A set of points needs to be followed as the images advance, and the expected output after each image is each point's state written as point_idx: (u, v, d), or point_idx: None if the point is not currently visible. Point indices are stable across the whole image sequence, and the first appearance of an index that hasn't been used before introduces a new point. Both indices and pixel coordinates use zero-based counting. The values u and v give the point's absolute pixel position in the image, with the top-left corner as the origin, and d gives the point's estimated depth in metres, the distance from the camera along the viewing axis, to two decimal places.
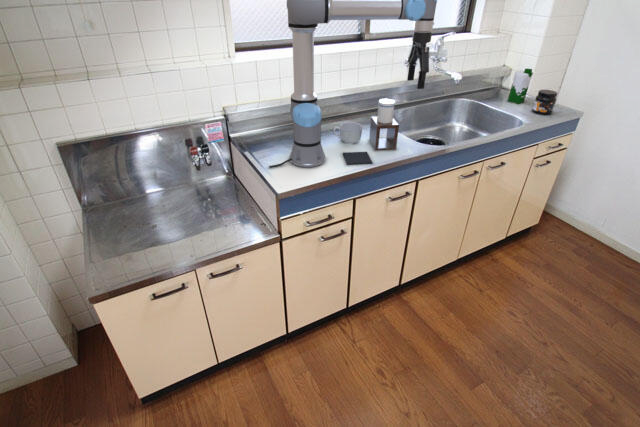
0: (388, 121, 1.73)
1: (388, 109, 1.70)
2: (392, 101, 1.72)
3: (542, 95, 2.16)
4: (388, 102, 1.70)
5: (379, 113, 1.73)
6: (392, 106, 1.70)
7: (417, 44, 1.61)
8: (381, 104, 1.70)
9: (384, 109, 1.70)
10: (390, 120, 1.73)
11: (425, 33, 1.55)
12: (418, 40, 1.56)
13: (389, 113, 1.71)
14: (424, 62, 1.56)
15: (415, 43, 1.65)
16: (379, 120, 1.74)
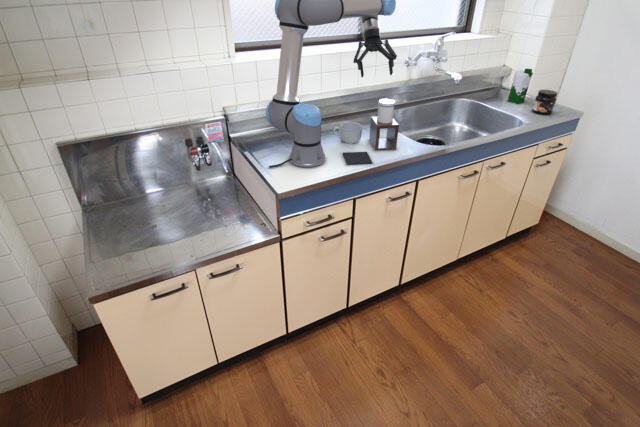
0: (388, 121, 1.73)
1: (388, 109, 1.70)
2: (392, 101, 1.72)
3: (542, 95, 2.16)
4: (388, 102, 1.70)
5: (379, 113, 1.73)
6: (392, 106, 1.70)
7: (371, 41, 1.79)
8: (381, 104, 1.70)
9: (384, 109, 1.70)
10: (390, 120, 1.73)
11: None
12: (379, 34, 1.78)
13: (389, 113, 1.71)
14: None
15: (362, 43, 1.80)
16: (379, 120, 1.74)
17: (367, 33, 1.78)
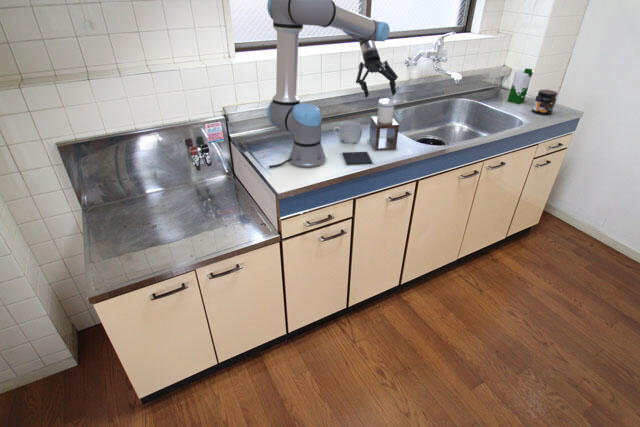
0: (388, 121, 1.73)
1: (388, 109, 1.70)
2: (392, 101, 1.72)
3: (542, 95, 2.16)
4: (388, 102, 1.70)
5: (379, 113, 1.73)
6: (392, 106, 1.70)
7: (371, 62, 1.78)
8: (381, 104, 1.70)
9: (384, 109, 1.70)
10: (390, 120, 1.73)
11: None
12: None
13: (389, 113, 1.71)
14: None
15: (362, 64, 1.77)
16: (379, 120, 1.74)
17: (367, 54, 1.76)
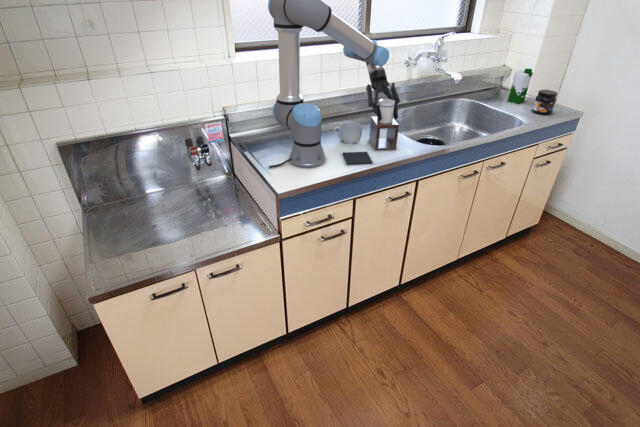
0: (388, 121, 1.73)
1: (388, 109, 1.70)
2: (392, 100, 1.72)
3: (542, 95, 2.16)
4: (388, 102, 1.70)
5: None
6: (392, 106, 1.70)
7: (378, 82, 1.74)
8: (381, 104, 1.70)
9: (383, 109, 1.70)
10: (390, 120, 1.73)
11: None
12: None
13: (389, 113, 1.71)
14: None
15: None
16: None
17: (374, 74, 1.73)
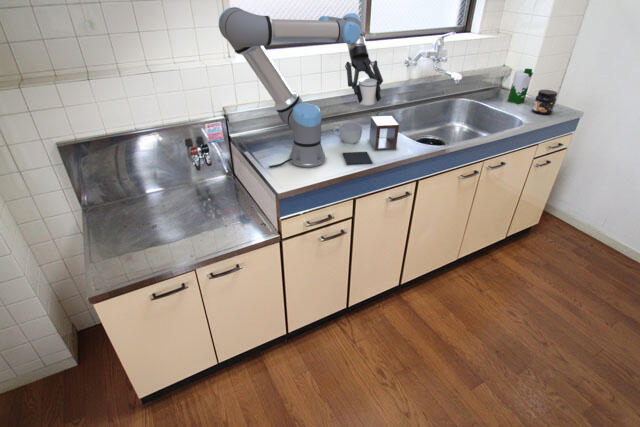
0: (369, 103, 1.56)
1: (369, 89, 1.52)
2: (374, 80, 1.54)
3: (542, 95, 2.16)
4: (369, 81, 1.52)
5: None
6: (374, 86, 1.53)
7: (359, 59, 1.57)
8: (361, 83, 1.52)
9: (364, 89, 1.53)
10: (372, 102, 1.56)
11: None
12: (367, 52, 1.57)
13: (370, 94, 1.54)
14: None
15: (349, 63, 1.56)
16: None
17: (354, 50, 1.56)
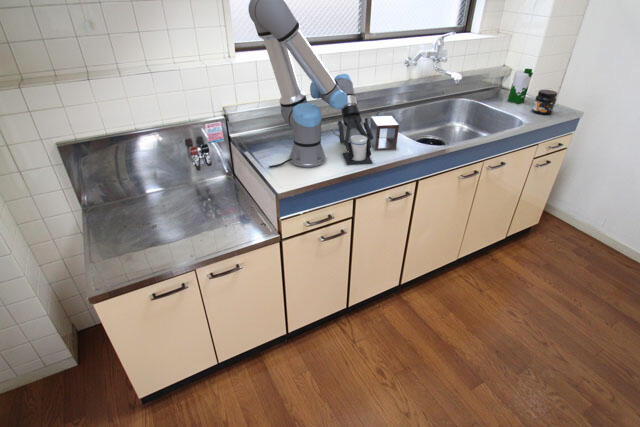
0: (360, 159, 1.66)
1: (360, 146, 1.63)
2: (364, 137, 1.65)
3: (542, 95, 2.16)
4: (360, 139, 1.63)
5: None
6: (364, 143, 1.63)
7: (350, 118, 1.67)
8: (353, 141, 1.63)
9: (355, 146, 1.63)
10: (363, 157, 1.66)
11: None
12: (358, 111, 1.68)
13: (361, 151, 1.64)
14: None
15: (341, 121, 1.67)
16: None
17: (346, 110, 1.66)
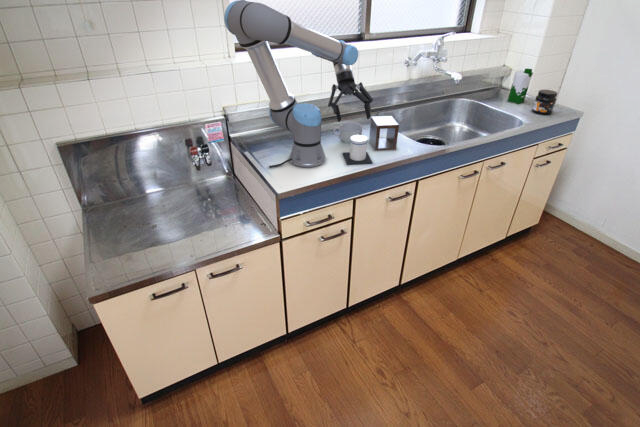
0: (360, 159, 1.66)
1: (360, 146, 1.63)
2: (364, 137, 1.65)
3: (542, 95, 2.16)
4: (360, 139, 1.63)
5: (351, 150, 1.66)
6: (364, 143, 1.63)
7: (345, 84, 1.68)
8: (353, 141, 1.63)
9: (355, 146, 1.63)
10: (363, 157, 1.66)
11: None
12: (353, 77, 1.68)
13: (361, 151, 1.64)
14: None
15: None
16: (351, 157, 1.67)
17: (340, 75, 1.66)
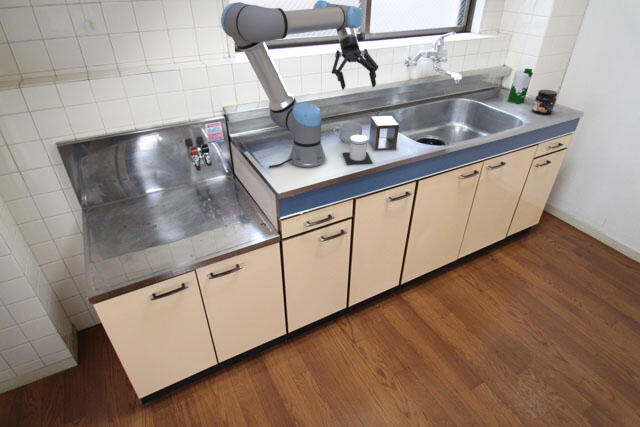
0: (360, 159, 1.66)
1: (360, 146, 1.63)
2: (364, 137, 1.65)
3: (542, 95, 2.16)
4: (360, 139, 1.63)
5: (351, 150, 1.66)
6: (364, 143, 1.63)
7: (349, 50, 1.61)
8: (353, 141, 1.63)
9: (355, 146, 1.63)
10: (363, 157, 1.66)
11: None
12: None
13: (361, 151, 1.64)
14: None
15: (339, 52, 1.60)
16: (351, 157, 1.67)
17: (345, 41, 1.59)
